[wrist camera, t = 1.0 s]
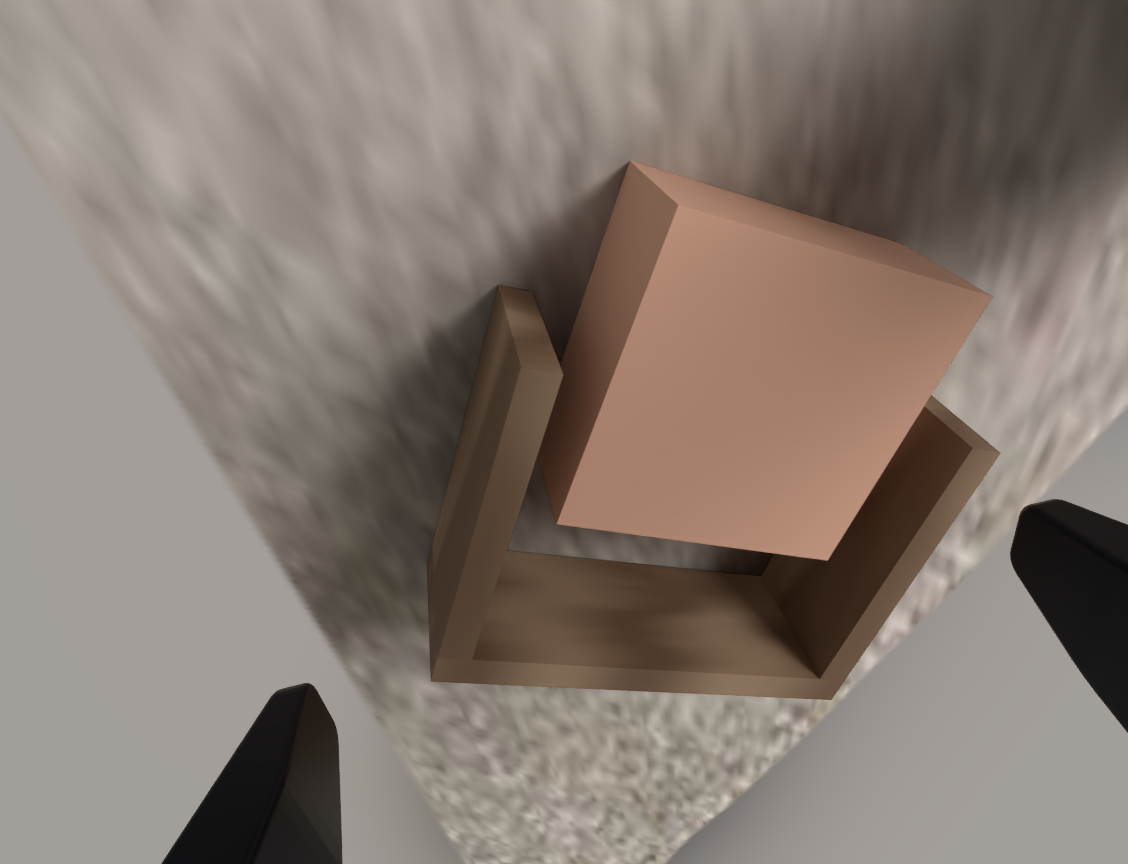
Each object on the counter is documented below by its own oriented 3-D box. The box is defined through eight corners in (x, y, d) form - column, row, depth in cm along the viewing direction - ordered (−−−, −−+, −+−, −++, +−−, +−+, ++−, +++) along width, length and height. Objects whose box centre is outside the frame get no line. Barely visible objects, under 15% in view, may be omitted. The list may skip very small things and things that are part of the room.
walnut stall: (901, 370, 25) (1001, 453, 21) (772, 597, 30) (831, 699, 26) (498, 284, 21) (521, 366, 17) (426, 564, 26) (430, 681, 22)
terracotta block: (895, 240, 22) (992, 296, 19) (768, 476, 27) (827, 560, 23) (627, 158, 20) (678, 204, 16) (532, 436, 24) (556, 524, 20)
